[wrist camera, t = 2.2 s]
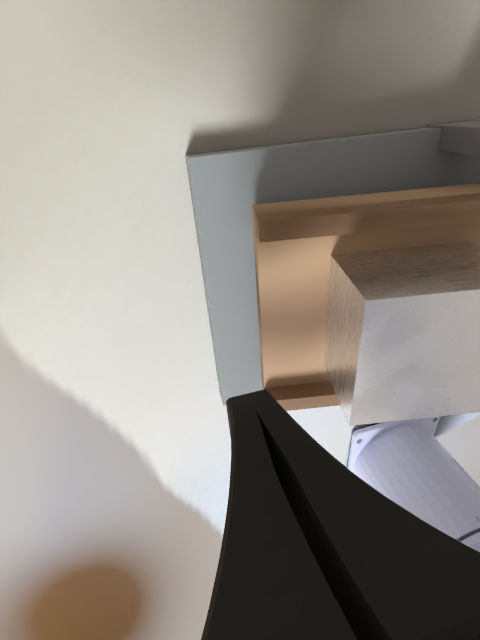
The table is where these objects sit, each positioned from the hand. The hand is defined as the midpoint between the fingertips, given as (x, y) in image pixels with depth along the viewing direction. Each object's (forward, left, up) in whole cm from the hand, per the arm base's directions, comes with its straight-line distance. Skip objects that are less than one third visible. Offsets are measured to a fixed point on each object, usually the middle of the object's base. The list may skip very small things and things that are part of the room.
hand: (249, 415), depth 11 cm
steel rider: (0, -8, -4) cm, 9 cm away
